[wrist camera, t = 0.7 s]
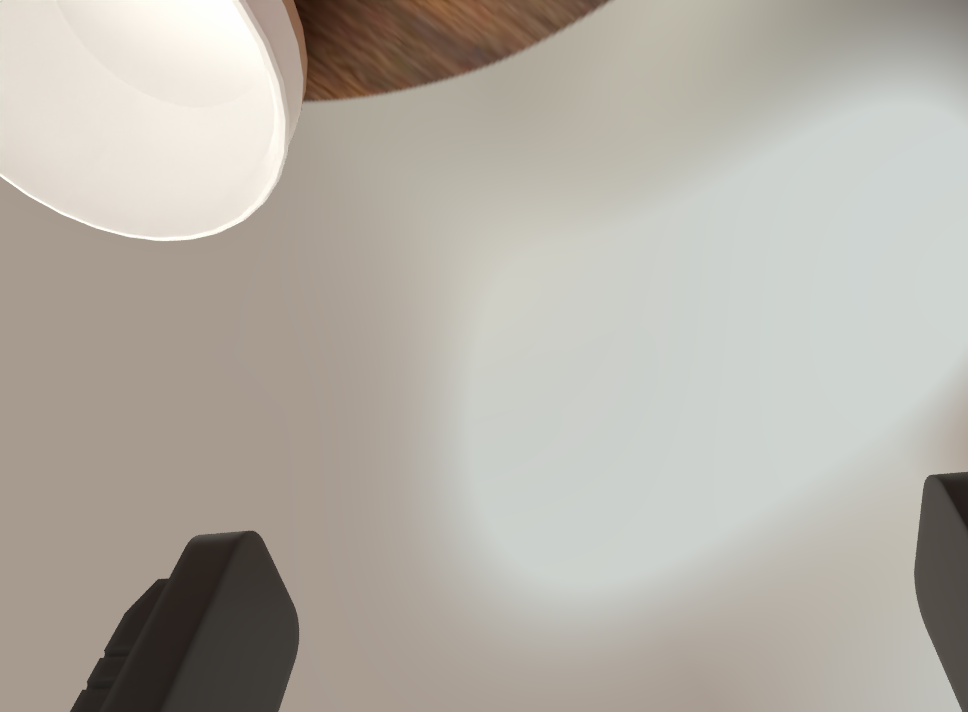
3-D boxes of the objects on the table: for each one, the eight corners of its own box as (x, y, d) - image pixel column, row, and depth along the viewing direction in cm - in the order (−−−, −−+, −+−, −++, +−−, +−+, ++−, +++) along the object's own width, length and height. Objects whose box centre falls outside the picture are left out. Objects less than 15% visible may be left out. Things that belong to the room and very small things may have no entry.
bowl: (400, -63, 34) (349, 26, 29) (279, 197, 45) (226, 295, 40) (5, -316, 30) (-142, -267, 24) (-22, 40, 41) (-126, 126, 35)
